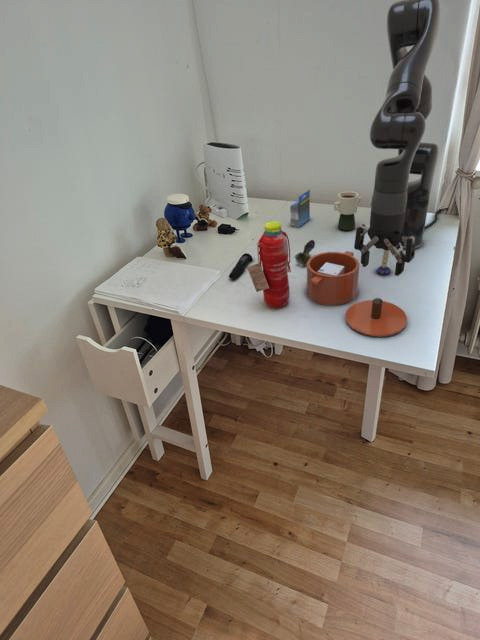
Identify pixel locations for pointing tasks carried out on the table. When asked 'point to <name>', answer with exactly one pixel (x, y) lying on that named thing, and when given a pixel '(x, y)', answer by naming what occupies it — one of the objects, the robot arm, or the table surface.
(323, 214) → the table surface
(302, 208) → the tape cartridge
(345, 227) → the character mug
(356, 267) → the pot
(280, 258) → the water bottle
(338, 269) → the white cardboard box
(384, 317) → the pot lid
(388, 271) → the purple tan pedestal column
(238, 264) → the electric trimmer
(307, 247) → the eagle figurine
